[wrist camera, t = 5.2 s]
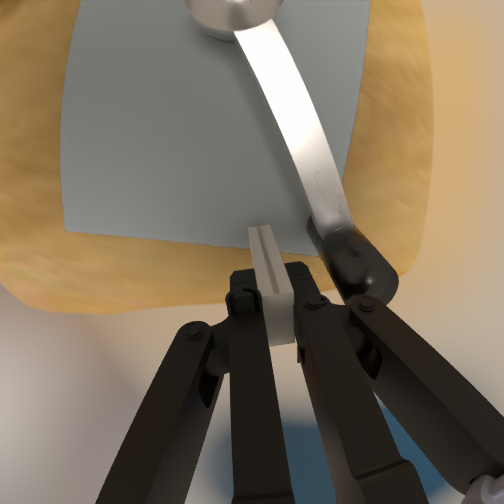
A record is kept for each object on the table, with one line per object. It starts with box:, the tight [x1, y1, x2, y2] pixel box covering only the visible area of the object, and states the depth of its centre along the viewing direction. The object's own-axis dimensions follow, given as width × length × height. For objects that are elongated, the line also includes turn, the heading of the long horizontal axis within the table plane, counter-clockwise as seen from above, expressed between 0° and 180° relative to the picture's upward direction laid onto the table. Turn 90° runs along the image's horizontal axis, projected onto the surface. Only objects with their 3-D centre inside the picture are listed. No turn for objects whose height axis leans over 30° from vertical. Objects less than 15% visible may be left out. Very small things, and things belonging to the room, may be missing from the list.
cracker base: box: [60, 0, 370, 257], centre depth 12 cm, size 25×18×3 cm
